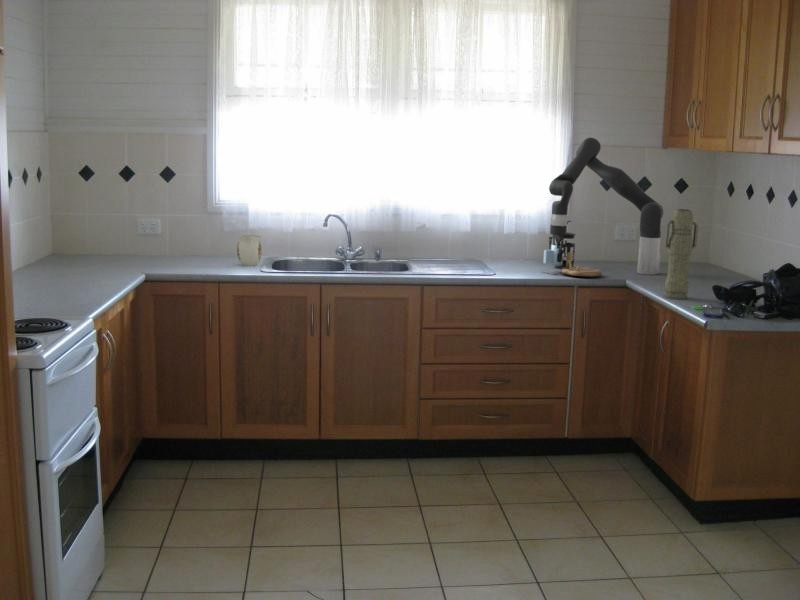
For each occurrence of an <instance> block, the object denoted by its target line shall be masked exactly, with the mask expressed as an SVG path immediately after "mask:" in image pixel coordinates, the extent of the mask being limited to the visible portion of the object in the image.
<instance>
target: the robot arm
mask: <svg viewBox="0 0 800 600" xmlns="http://www.w3.org/2000/svg"><path fill="white" fill-rule="evenodd" d="M601 147H602V146H601V142H600V141H598V140H597V139H596V138H595V137H587V138H585V139H584V140H583V141H582V142H581V143H580V145H579V146H578V148H577V149H576V153H575V157H574V158H573V159H572V160H571V161H570V163H569V164H568V165H567V166H566V168H565V169H564V171H563V172H562V173H561V174H559V175H558V176H556V177H555V178H554V179H552V181H551V182H550V184H549V187H548V190H549V193H550V194H551V195H552V196H557V197H561V198H560V200H556V201H553V202H552V204H551V206H552V207H551V215H550V216H551V217H550V223H549V224H550V226H549V227H550V228H549V234H550V235H552V236H549V237H548V250H551V245H556V249H557V252H558V254H557V262H562V254H563V253H565V251H566V252H567V247H566V244H567V243H568V241H567V240H568V239H564V238H563V236H564V235H566V234H567V232H568V225H567V220H568V206H569V204H570V200H571V197H572V194H573V192H574V191H573V190H574V186H573V184H576V181H577V180H578V178H579V177H580V176H581V174H582V172H583V171H584V169H585V168H586V167H587V168H589V169H590V170H591V171H592V172H594V173H595V174H596V175H597V176H599V177H600V179H602V180H603V181H604V182H605V183H606V184H607V185H609V187H610V188H611V189H613V191H614V192H615V193H617V194H618V195H620V196H621V197H622V198H624V199H625V200H627V202H629V203H631V204H633V205H634V206H635V207H636V208H637V210H639V211H640V218H639V219H640V220H639V221H640V222H639V233H640V234H639V244H638V254H637V255H638V258H637V269H636V273H637V274H640V275H649V276H650V275H651V276H652V275H660V265H661V253H660V247H661V246H660V245H661V234H662V233H661V232H662V231H661V223H662V218H663V217H664V209H663V206H662V205H661V204H660V203H659V202H657V201H656V200H655V199H653V198H651V196H649V195H648V194H647V193H646V192H645V191H644V190H642V188H641V187H640V186H639V185H638V184H637V183H636V181H634V180H633V178H632V177H630V175H628V173H626V172H625V171H624V170H623V169H621V168H619V167H615V166H611V165H607V164H605V163H604V162H602V161H601V160H600V159H599V158H598V157H597V156H598V155H599V153H600V151H601V149H602V148H601ZM559 246H560V247H559ZM563 248H564V250H563ZM559 249H560V250H559Z"/></svg>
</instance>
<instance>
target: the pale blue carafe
mask: <svg viewBox="0 0 800 600" xmlns="http://www.w3.org/2000/svg"><path fill="white" fill-rule="evenodd" d="M559 247H560V246H559ZM559 250H560V249H559ZM557 254H558V252H557V249H556V245H551V250H549V249H544V250H543V261H542V263H543V264H549V265H550V266H561V265H562V262H557ZM563 260H564V257H563V254H562V261H563Z"/></svg>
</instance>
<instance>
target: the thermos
mask: <svg viewBox="0 0 800 600" xmlns="http://www.w3.org/2000/svg"><path fill="white" fill-rule="evenodd" d="M670 225H671V229H672V230H671V235H670ZM693 225H694V227H693ZM698 230H699V225H698V224H697V223H696V222H695V221H694V215H693V212H692V210H690V209H687V208H686V209H685V208H684V209H683V208H678V209H675V211H674V213H673V215H672V220H669V221H668V222H667V223H666V228H665V237H664V247H665V248H668V250H667V251H668V265H667V276H666V278H665V285H664V298H666V299H672V300H687V299H688V293H689V285H690V281H689V272H690V270H689V269H690V259H691V256H692V253H693V252H692V250H693V249H695V248H696V247H697V241H698ZM692 231H693V233H692ZM692 234H693V238H692ZM669 235H670V236H669Z"/></svg>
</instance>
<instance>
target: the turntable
mask: <svg viewBox="0 0 800 600" xmlns="http://www.w3.org/2000/svg"><path fill="white" fill-rule="evenodd" d="M566 254H567V257H565V258H566V259H565V260H566V267H565V268H562V269H561V270H562V273H564V274H563V275H567V276H569V275H570V276H572V275H574V276H573V277H576V276H591V277H599V276H602V273H603V271H602V269H598V268H593V267H586V266H585V267H584V266H583V267H582V266H581V267H580V265H577V266H574V267H572V264H571V261H572V258H573V257H572V255H573V252H571V251H570V252H567V251H566Z"/></svg>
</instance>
